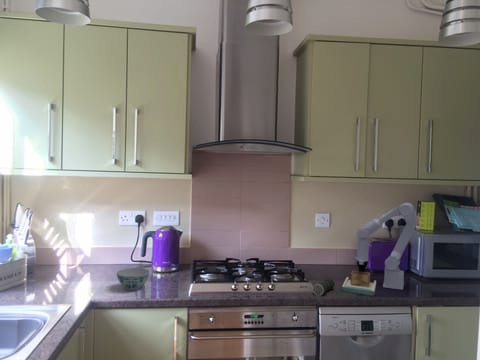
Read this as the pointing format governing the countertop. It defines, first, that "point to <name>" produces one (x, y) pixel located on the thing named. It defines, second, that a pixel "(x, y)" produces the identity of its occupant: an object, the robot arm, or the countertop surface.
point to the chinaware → (133, 277)
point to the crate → (360, 278)
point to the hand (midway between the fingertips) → (361, 275)
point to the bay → (358, 288)
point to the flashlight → (323, 286)
